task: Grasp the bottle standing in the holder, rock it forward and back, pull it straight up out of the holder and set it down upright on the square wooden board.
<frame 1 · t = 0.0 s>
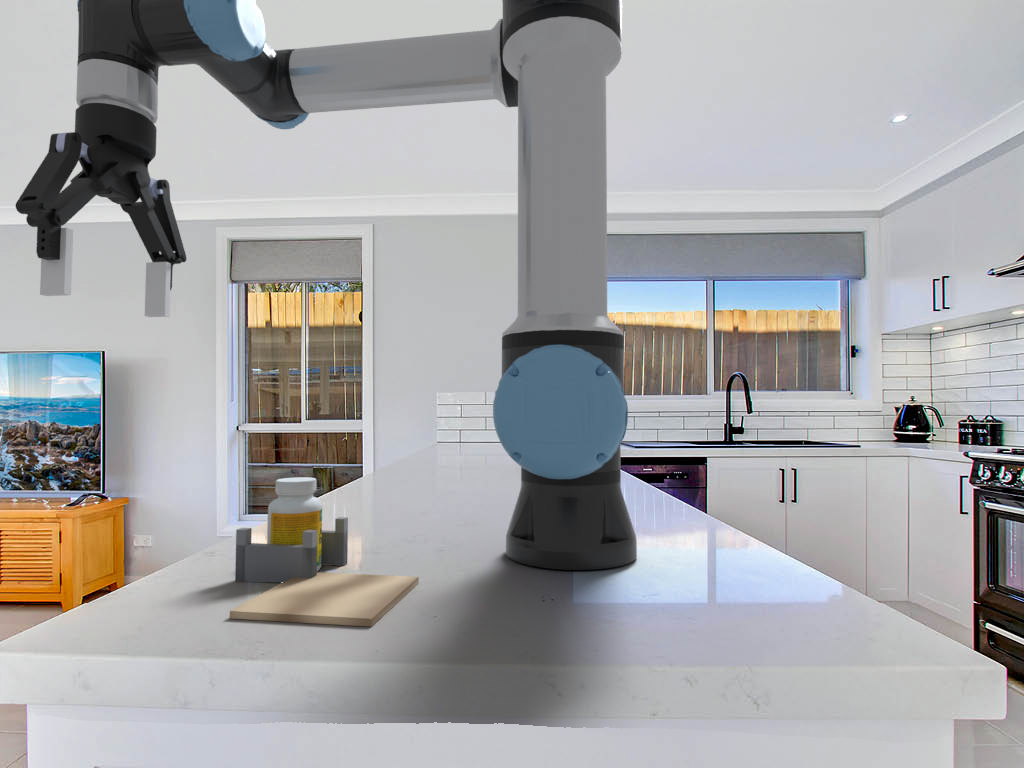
hand: (111, 307, 66), 28 cm above the counter, fingers open, 13 cm apart
square wooden board: (332, 599, 54), on the counter
supplement bottle: (294, 573, 63), on the counter
holder: (294, 571, 63), on the counter
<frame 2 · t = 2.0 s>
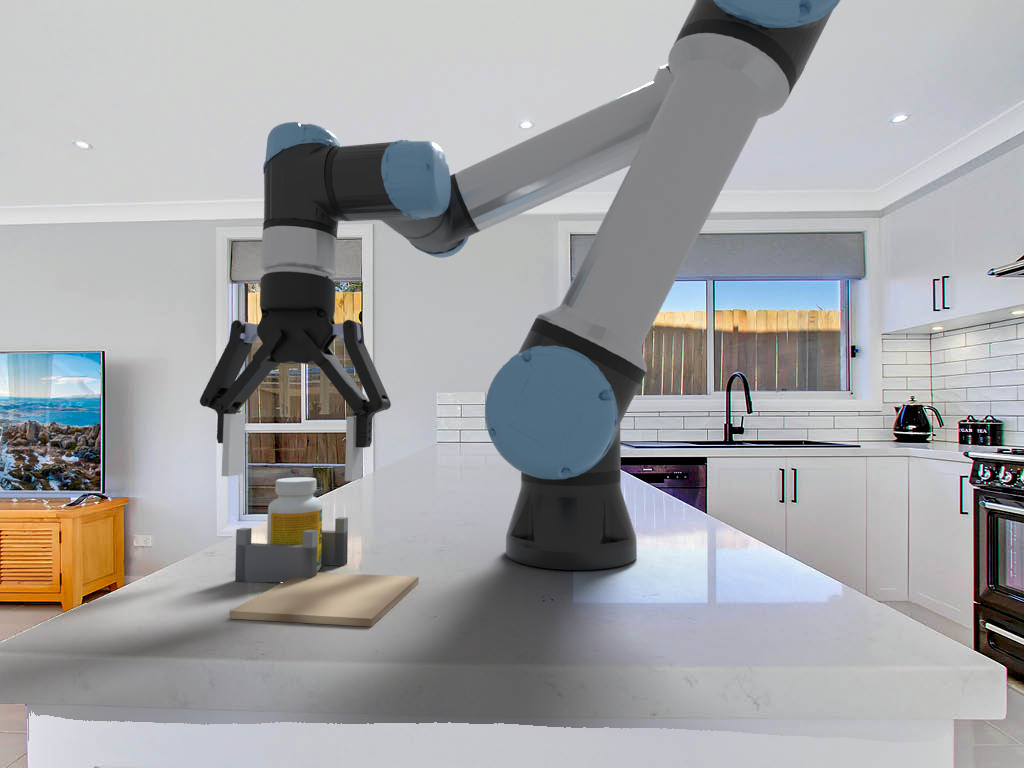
hand: (292, 477, 63), 10 cm above the counter, fingers open, 13 cm apart
nothing on the counter moved.
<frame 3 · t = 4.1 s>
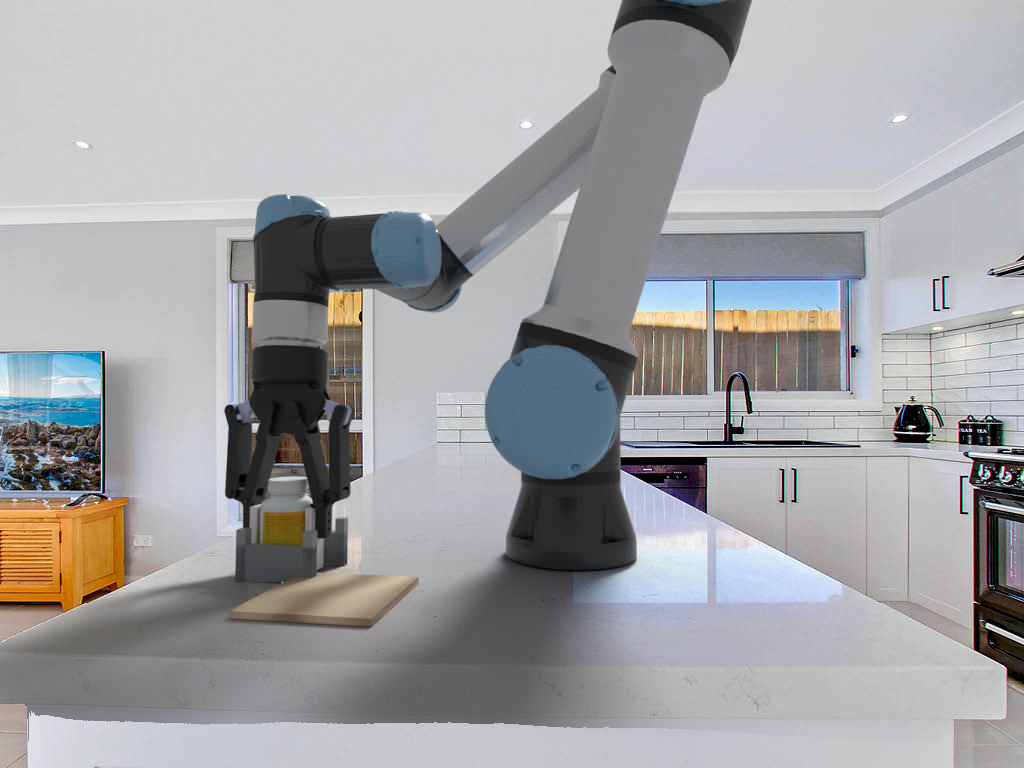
hand: (286, 568, 63), 0 cm above the counter, fingers closed on supplement bottle, 5 cm apart
supplement bottle: (286, 572, 63), on the counter, touching gripper
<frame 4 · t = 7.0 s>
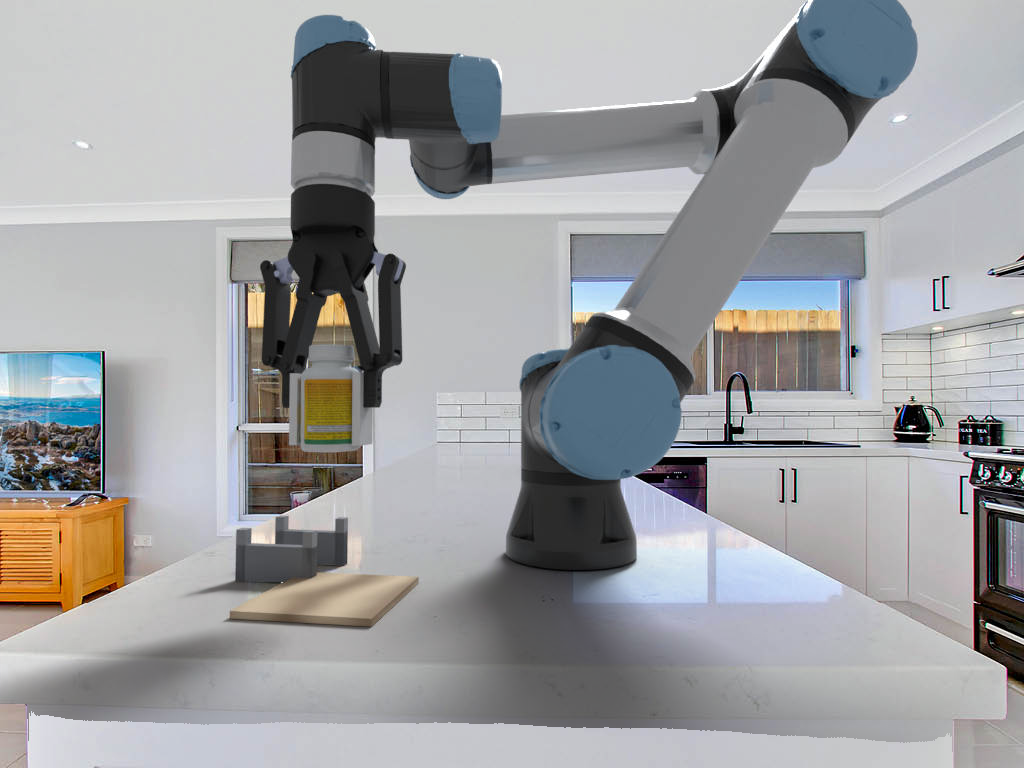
hand: (331, 444, 55), 14 cm above the counter, fingers closed on supplement bottle, 5 cm apart
supplement bottle: (331, 452, 55), point 13 cm above the counter, touching gripper
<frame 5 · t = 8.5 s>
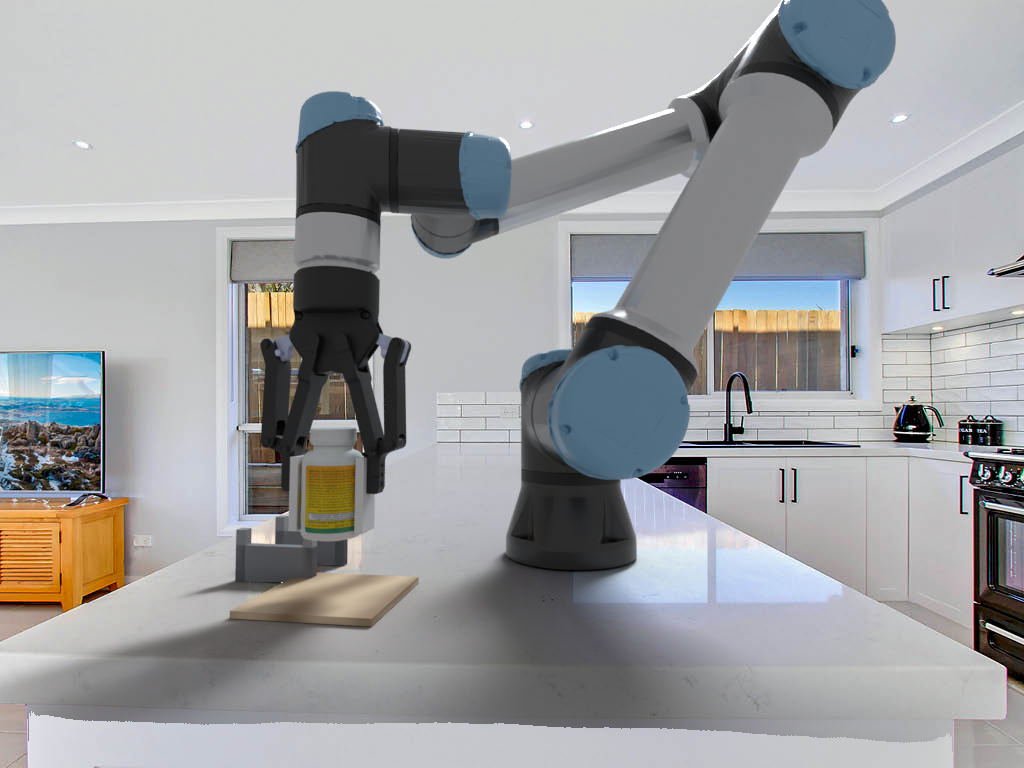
hand: (331, 529, 54), 6 cm above the counter, fingers closed on supplement bottle, 5 cm apart
supplement bottle: (332, 537, 54), point 5 cm above the counter, touching gripper
when the fingers open (2 cm above the counter, at t = 9.6 s): supplement bottle stays where it is, resting on square wooden board.
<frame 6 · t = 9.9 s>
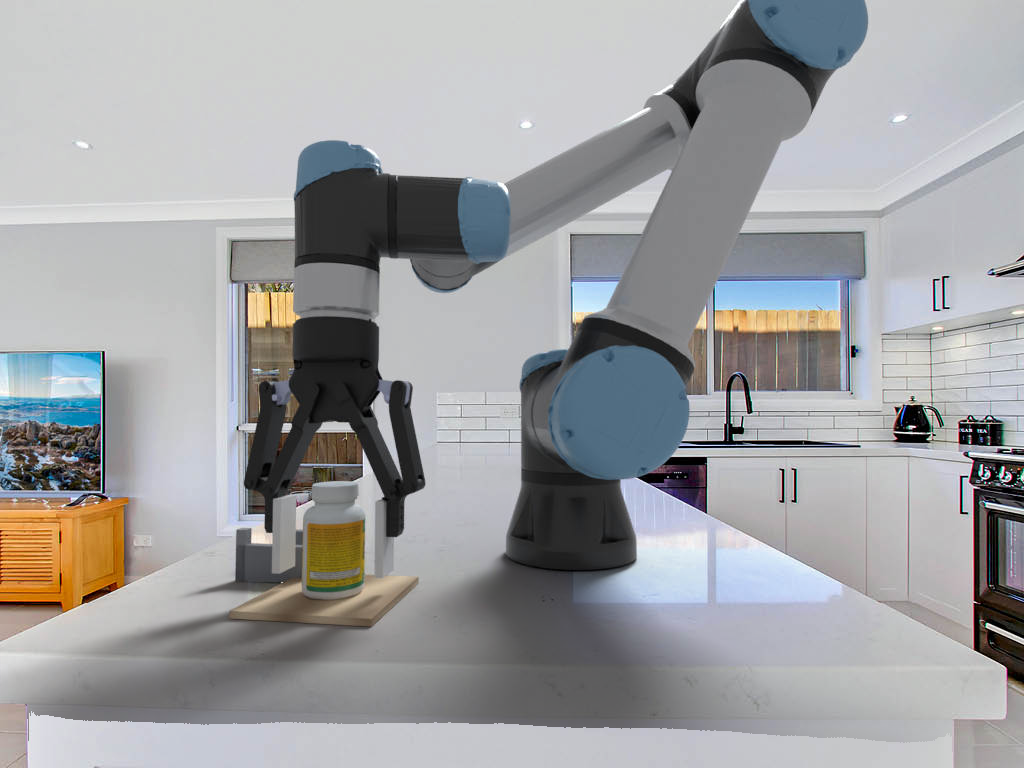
hand: (333, 571, 54), 2 cm above the counter, fingers open, 9 cm apart
supplement bottle: (333, 594, 54), resting on square wooden board
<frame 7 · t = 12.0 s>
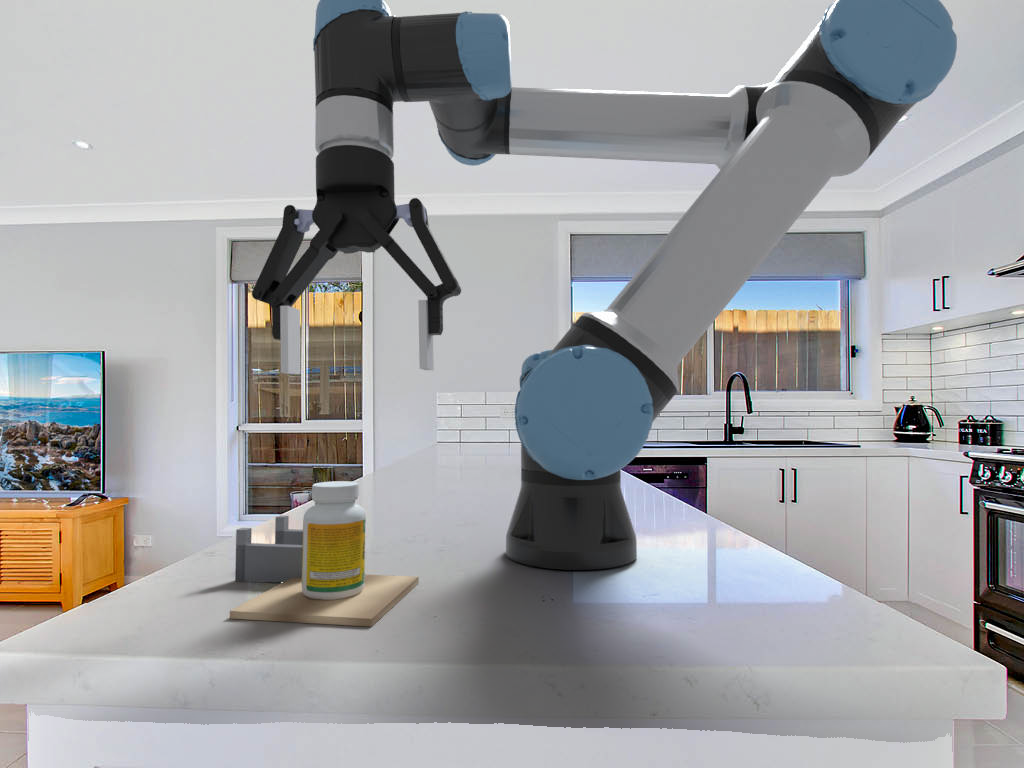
hand: (358, 372, 59), 21 cm above the counter, fingers open, 13 cm apart
nothing on the counter moved.
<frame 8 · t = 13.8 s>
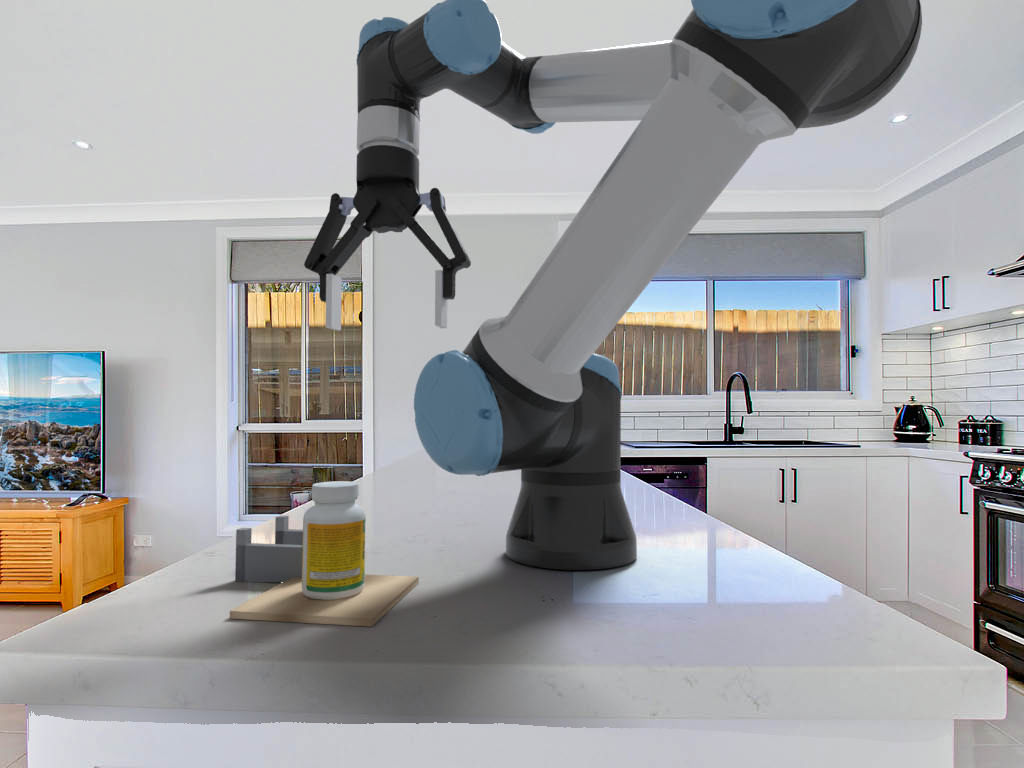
hand: (386, 328, 73), 27 cm above the counter, fingers open, 13 cm apart
nothing on the counter moved.
at the end: supplement bottle inside the target area on the square wooden board (0.1 cm from its centre), point 0.4 cm above the square wooden board's base; supplement bottle tilted 0°; the gripper is holding nothing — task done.
